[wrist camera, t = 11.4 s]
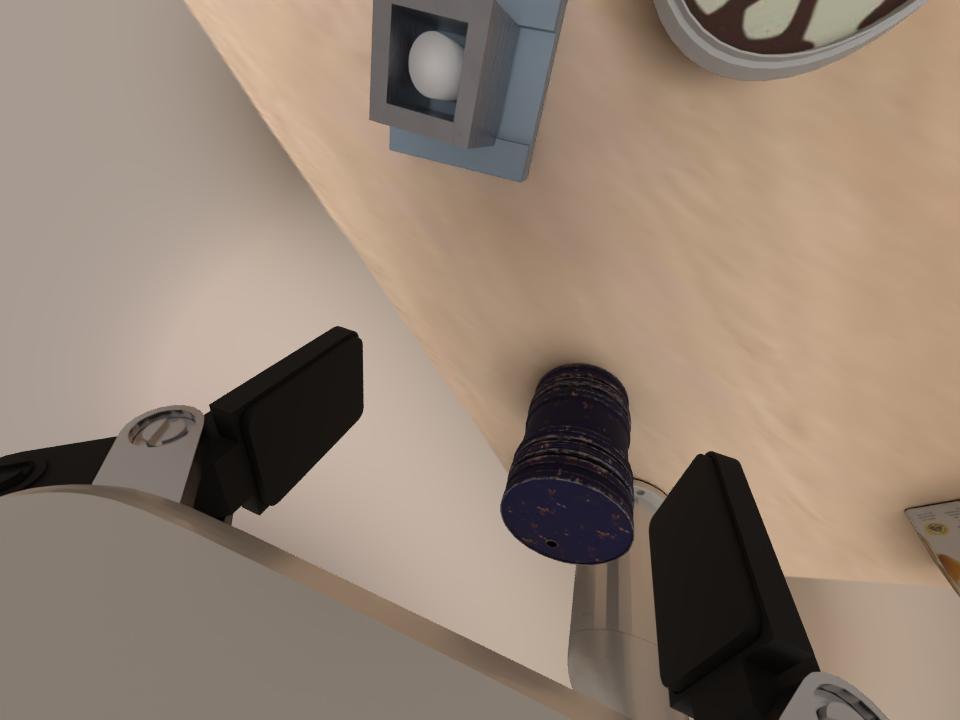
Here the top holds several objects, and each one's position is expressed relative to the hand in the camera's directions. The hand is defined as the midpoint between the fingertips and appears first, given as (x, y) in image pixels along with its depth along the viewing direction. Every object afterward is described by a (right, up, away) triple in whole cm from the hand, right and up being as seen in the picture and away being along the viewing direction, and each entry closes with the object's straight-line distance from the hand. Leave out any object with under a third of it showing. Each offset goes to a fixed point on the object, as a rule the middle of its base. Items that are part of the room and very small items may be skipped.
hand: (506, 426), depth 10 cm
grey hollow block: (-2, +21, +15) cm, 26 cm away
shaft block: (-1, +22, +17) cm, 28 cm away
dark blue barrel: (+10, -3, +29) cm, 30 cm away
